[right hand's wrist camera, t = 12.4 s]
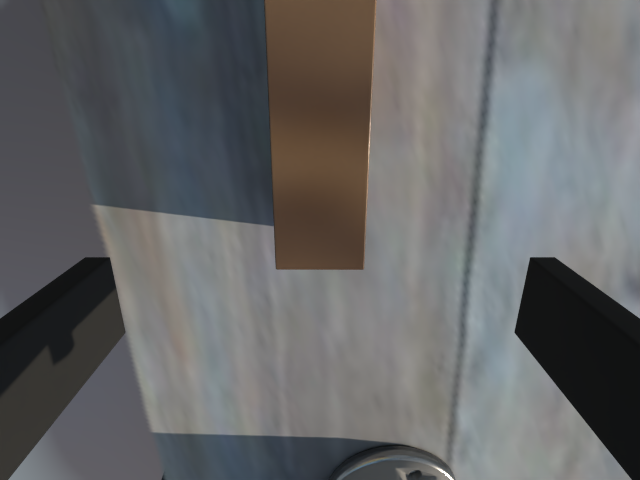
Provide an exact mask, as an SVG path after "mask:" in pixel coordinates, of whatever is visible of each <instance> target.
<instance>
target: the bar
mask: <svg viewBox="0 0 640 480" xmlns="http://www.w3.org/2000/svg"><path fill="white" fill-rule="evenodd" d="M264 7H265V30H266V53H267V76H268V99H269V122H270V146H271V169H272V192H273V215H274V238H275V261H276V269H359V270H363V269H364V258H365V236H366V215H367V193H368V171H369V149H370V128H371V106H372V84H373V62H374V41H375V19H376V0H264Z"/></svg>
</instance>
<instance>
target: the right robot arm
mask: <svg viewBox="0 0 640 480" xmlns="http://www.w3.org/2000/svg"><path fill="white" fill-rule="evenodd" d="M124 334H125V328H124V323H123V318H122V313H121V309H120V304H119V299H118V294H117V290H116V285H115V280H114V275H113V271H112V266H111V261H110V257H99V258H97V257H96V258H95V257H91V258H90V257H87V258H84V259H82V260H81V261H80V262H78V263H77V264H75V265H74V266H73V267H71V268H70V269H69V270H67V271H66V272H64V273H63V274H62V275H60V276H59V277H57V278H56V279H55V280H53V281H52V282H51V283H49V284H48V285H46V286H45V287H44V288H42V289H41V290H39V291H38V292H37V293H35V294H34V295H33V296H31V297H30V298H28V299H27V300H25V301H24V302H23V303H21V304H20V305H19V306H17V307H16V308H14V309H13V310H12V311H10V312H9V313H7V314H6V315H5V316H3V317H2V318H1V319H0V480H8V479H9V478H10V477H11V475H12V474H13V473H14V472H15V470H16V469H17V468H18V467H19V465H20V464H21V463H22V462H23V460H24V459H25V458H26V457H27V455H28V454H29V453H30V451H31V450H32V449H33V448H34V447H35V445H36V444H37V443H38V442H39V440H40V439H41V438H42V437H43V435H44V434H45V433H46V431H47V430H48V429H49V428H50V426H51V425H52V424H53V423H54V421H55V420H56V419H57V418H58V416H59V415H60V414H61V413H62V411H63V410H64V409H65V408H66V406H67V405H68V404H69V403H70V401H71V400H72V399H73V398H74V396H75V395H76V394H77V393H78V391H79V390H80V389H81V388H82V386H83V385H84V384H85V383H86V381H87V380H88V379H89V378H90V376H91V375H92V374H93V373H94V371H95V370H96V369H97V368H98V366H99V365H100V364H101V363H102V361H103V360H104V359H105V357H106V356H107V355H108V354H109V352H110V351H111V350H112V349H113V347H114V346H115V345H116V344H117V342H118V341H119V340H120V339H121V337H122V336H123V335H124ZM515 334H516V335H517V336H518V337H519V339H520V340H521V341H522V342H523V344H524V345H525V346H526V347H527V349H528V350H529V351H530V352H531V354H532V355H533V356H534V357H535V359H536V360H537V361H538V363H539V364H540V365H541V366H542V368H543V369H544V370H545V371H546V373H547V374H548V375H549V376H550V378H551V379H552V380H553V381H554V383H555V384H556V385H557V386H558V388H559V389H560V390H561V391H562V393H563V394H564V395H565V396H566V398H567V399H568V400H569V401H570V403H571V404H572V405H573V406H574V408H575V409H576V410H577V411H578V413H579V414H580V415H581V416H582V418H583V419H584V420H585V421H586V423H587V424H588V425H589V426H590V428H591V429H592V430H593V431H594V433H595V434H596V435H597V437H598V438H599V439H600V440H601V442H602V443H603V444H604V445H605V447H606V448H607V449H608V450H609V452H610V453H611V454H612V455H613V457H614V458H615V459H616V460H617V462H618V463H619V464H620V465H621V467H622V468H623V469H624V470H625V472H626V473H627V474H628V475H629V477H630V478H631V479H632V480H640V318H638V317H637V316H635V315H634V314H633V313H631V312H630V311H628V310H627V309H626V308H624V307H623V306H621V305H620V304H619V303H617V302H616V301H615V300H613V299H612V298H610V297H609V296H608V295H606V294H605V293H603V292H602V291H601V290H599V289H598V288H596V287H595V286H594V285H592V284H591V283H590V282H588V281H587V280H585V279H584V278H583V277H581V276H580V275H578V274H577V273H576V272H574V271H573V270H571V269H570V268H569V267H567V266H566V265H565V264H563V263H562V262H560V261H559V260H558V259H556V258H555V257H530V261H529V266H528V271H527V275H526V280H525V285H524V290H523V294H522V299H521V304H520V309H519V313H518V318H517V323H516V328H515ZM161 480H165V478H164V475H163V476H162V479H161ZM329 480H456V479H455V477H454V474H453V473H452V471H451V469H450V468H449V467H448V466H447V465H446V464H445V463H444V462H443V461H442V460H441V459H439V458H438V457H436V456H435V455H433V454H431V453H429V452H426V451H423V450H420V449H417V448H412V447H406V446H385V447H378V448H373V449H370V450H366V451H364V452H361V453H359V454H356V455H354V456H353V457H351V458H349V459H348V460H346V461H345V462H343V463H342V464H341V465H340V466H339V467H338V468H337V469H336V470H335V471H334V472H333V474H332V475H331V477H330V479H329Z"/></svg>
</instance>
